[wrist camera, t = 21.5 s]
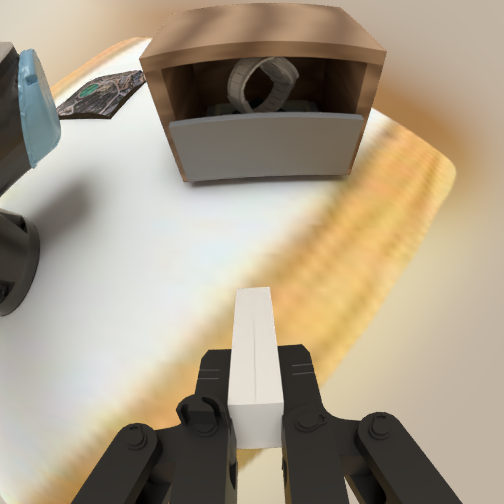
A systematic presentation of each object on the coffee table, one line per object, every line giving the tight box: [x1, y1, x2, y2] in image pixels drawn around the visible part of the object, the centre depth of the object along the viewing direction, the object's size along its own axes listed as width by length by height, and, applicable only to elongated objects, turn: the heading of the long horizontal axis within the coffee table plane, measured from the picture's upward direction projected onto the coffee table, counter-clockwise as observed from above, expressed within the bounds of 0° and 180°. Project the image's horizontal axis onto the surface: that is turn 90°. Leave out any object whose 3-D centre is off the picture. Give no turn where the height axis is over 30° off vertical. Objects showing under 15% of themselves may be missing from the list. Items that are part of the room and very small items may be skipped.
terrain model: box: [56, 70, 147, 120], centre depth 44 cm, size 20×15×3 cm
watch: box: [227, 56, 299, 114], centre depth 27 cm, size 6×8×11 cm
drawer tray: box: [169, 100, 364, 182], centre depth 29 cm, size 18×13×8 cm
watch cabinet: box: [139, 3, 387, 182], centre depth 27 cm, size 20×14×17 cm
